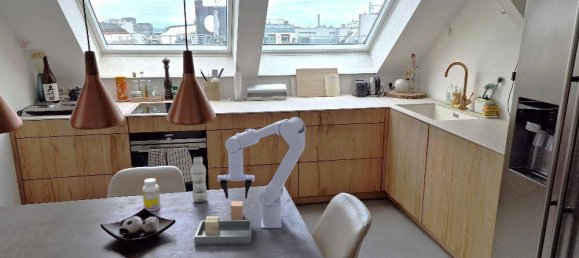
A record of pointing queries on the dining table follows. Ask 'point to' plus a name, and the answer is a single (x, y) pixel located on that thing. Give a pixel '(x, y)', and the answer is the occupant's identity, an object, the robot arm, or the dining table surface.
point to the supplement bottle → (151, 195)
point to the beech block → (212, 226)
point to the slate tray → (226, 233)
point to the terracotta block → (237, 210)
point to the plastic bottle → (199, 180)
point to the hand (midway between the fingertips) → (236, 197)
